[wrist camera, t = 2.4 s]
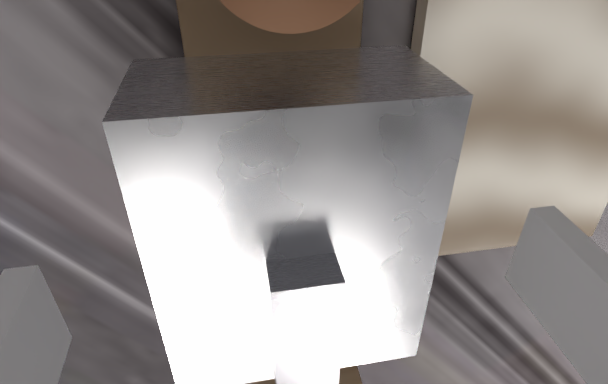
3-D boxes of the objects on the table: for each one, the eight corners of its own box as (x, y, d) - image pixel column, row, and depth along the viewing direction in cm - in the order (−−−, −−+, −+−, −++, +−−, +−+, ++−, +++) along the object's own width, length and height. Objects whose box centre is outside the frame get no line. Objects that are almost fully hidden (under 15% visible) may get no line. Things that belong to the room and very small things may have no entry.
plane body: (324, 324, 26) (372, 500, 19) (233, 338, 26) (243, 527, 18) (340, -159, 14) (510, -241, 6) (162, -162, 13) (88, -261, 5)
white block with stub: (377, 270, 20) (429, 385, 15) (184, 296, 18) (175, 429, 14) (405, 45, 14) (500, 114, 9) (133, 60, 13) (88, 147, 8)
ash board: (579, 225, 26) (591, 236, 25) (384, 249, 24) (390, 261, 23) (696, -44, 18) (720, -42, 17) (421, -37, 16) (433, -34, 15)
